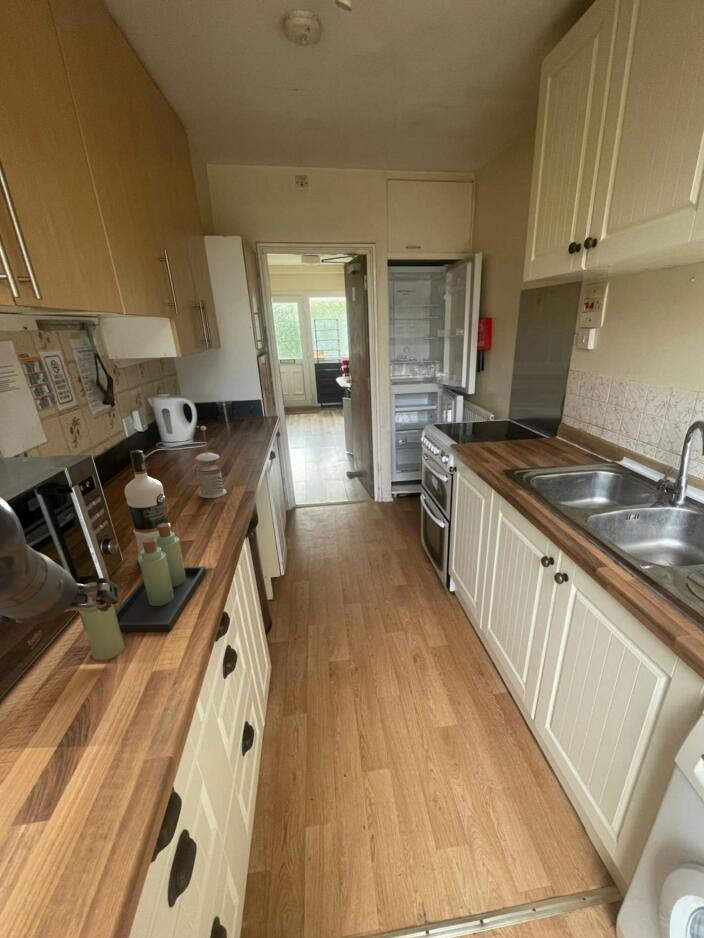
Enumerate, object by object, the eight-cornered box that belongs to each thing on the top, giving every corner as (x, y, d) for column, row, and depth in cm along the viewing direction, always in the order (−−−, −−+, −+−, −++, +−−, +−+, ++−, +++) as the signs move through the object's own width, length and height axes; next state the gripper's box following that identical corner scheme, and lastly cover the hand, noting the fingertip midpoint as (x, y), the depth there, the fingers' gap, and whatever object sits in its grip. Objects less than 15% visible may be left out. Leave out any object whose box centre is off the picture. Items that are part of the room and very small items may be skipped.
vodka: (157, 551, 118) (134, 444, 106) (186, 556, 115) (166, 447, 104) (130, 567, 109) (103, 453, 97) (161, 573, 107) (137, 457, 95)
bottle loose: (87, 662, 79) (65, 594, 73) (102, 643, 83) (83, 578, 77) (116, 662, 79) (97, 594, 73) (130, 643, 84) (113, 577, 78)
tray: (106, 635, 86) (103, 625, 85) (154, 575, 106) (153, 566, 105) (170, 633, 86) (168, 624, 86) (206, 574, 107) (205, 566, 106)
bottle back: (158, 587, 100) (146, 529, 95) (167, 575, 105) (156, 520, 99) (181, 586, 101) (170, 529, 95) (189, 575, 106) (179, 520, 100)
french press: (232, 491, 161) (224, 425, 151) (208, 501, 151) (198, 431, 141) (212, 486, 165) (203, 422, 155) (188, 496, 155) (176, 428, 145)
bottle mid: (144, 606, 94) (129, 545, 88) (154, 592, 98) (141, 534, 92) (168, 605, 94) (156, 545, 88) (177, 592, 99) (166, 534, 93)
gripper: (94, 546, 55) (124, 578, 69) (-50, 567, 49) (15, 596, 64) (98, 604, 52) (127, 624, 67) (-53, 632, 47) (14, 647, 61)
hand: (72, 610), depth 65 cm, fingers open, 8 cm apart
